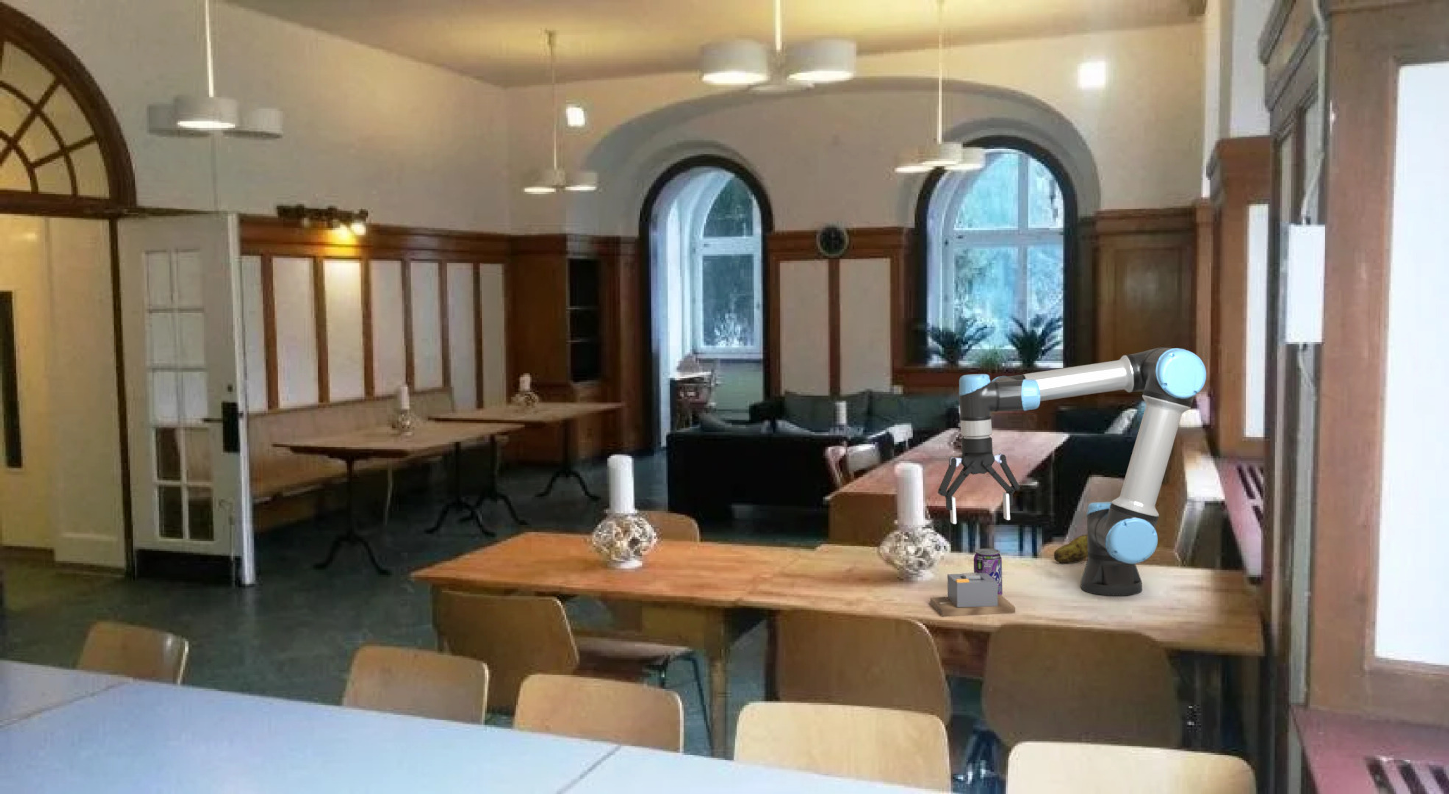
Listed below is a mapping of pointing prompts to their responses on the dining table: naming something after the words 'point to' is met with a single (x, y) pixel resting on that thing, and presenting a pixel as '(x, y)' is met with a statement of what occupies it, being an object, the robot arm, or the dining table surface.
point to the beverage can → (989, 564)
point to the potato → (1073, 551)
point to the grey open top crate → (972, 591)
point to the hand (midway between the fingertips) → (980, 521)
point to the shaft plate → (950, 609)
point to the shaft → (971, 576)
